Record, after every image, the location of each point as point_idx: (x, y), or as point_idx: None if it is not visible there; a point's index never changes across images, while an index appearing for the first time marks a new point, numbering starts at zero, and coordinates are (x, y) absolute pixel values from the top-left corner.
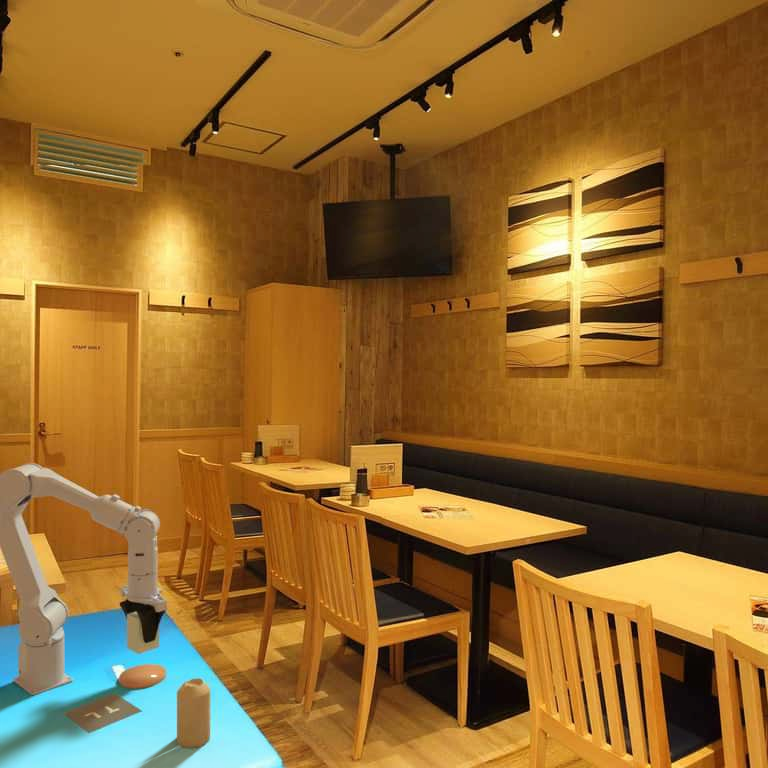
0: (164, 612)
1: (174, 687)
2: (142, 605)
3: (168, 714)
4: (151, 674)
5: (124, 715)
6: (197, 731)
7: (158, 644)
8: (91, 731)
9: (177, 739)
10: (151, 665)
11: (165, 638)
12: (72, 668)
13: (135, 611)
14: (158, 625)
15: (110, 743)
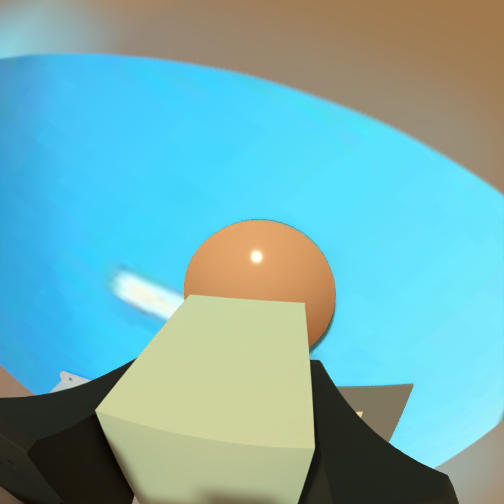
0: (424, 465)
1: (391, 264)
2: (85, 455)
3: (467, 350)
4: (286, 284)
5: (393, 414)
6: None
7: (304, 311)
8: None
9: None
10: (219, 241)
11: (66, 88)
12: (78, 351)
13: (124, 475)
14: (351, 409)
15: (430, 447)
